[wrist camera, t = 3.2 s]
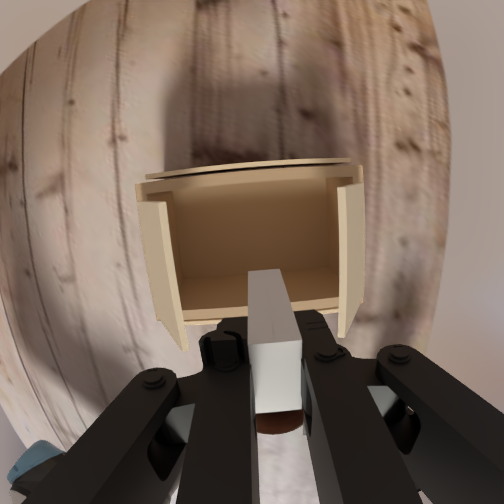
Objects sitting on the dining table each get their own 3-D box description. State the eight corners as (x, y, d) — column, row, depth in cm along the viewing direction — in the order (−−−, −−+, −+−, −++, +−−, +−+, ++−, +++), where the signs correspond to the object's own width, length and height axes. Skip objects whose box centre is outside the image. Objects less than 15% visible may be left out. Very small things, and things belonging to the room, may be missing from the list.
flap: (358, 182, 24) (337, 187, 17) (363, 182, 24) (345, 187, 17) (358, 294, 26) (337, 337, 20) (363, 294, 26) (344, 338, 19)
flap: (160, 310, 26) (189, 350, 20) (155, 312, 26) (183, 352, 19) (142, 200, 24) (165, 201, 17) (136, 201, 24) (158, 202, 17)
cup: (243, 402, 41) (245, 444, 31) (234, 351, 41) (232, 388, 31) (301, 393, 42) (316, 433, 32) (296, 342, 41) (312, 375, 31)
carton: (178, 290, 38) (158, 327, 28) (163, 176, 34) (134, 176, 24) (335, 277, 38) (362, 309, 28) (331, 162, 34) (361, 157, 24)
